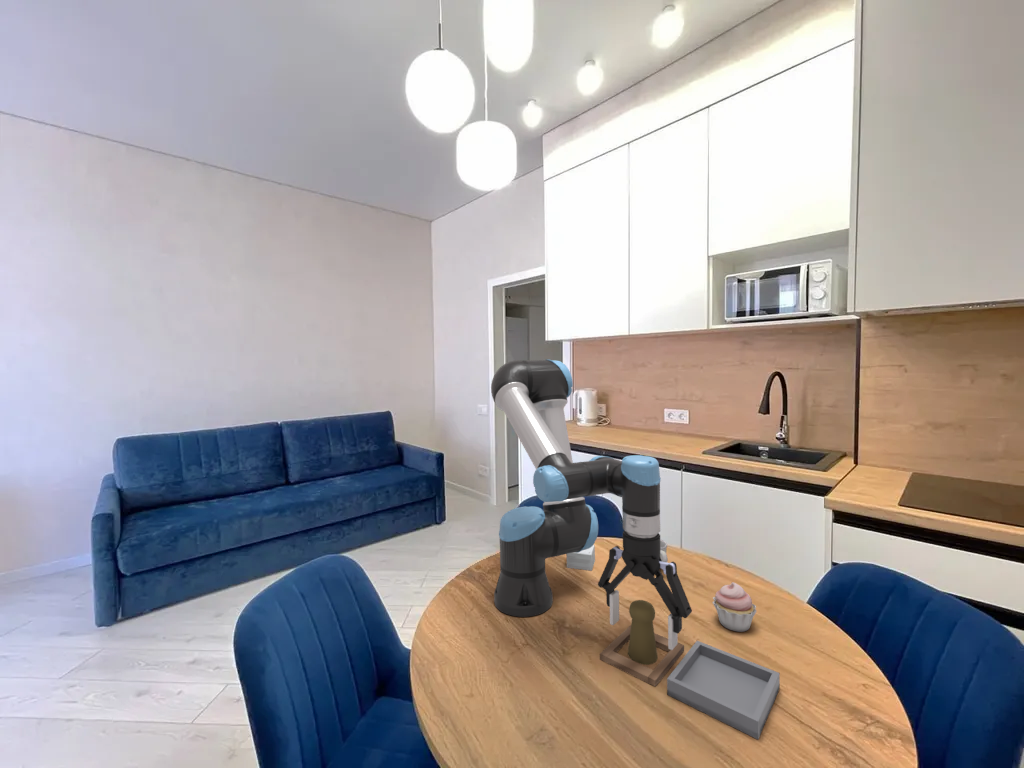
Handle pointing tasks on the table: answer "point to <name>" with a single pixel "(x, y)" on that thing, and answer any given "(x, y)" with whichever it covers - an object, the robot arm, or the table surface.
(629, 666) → the socket block
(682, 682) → the tray
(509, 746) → the table surface
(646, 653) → the olive bulb peg
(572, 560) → the small box
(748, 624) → the cupcake
